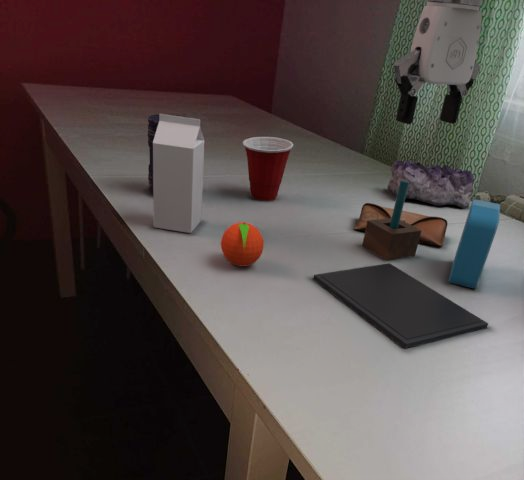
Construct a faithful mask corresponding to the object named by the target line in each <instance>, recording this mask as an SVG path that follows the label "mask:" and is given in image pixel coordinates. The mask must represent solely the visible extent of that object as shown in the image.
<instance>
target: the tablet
mask: <svg viewBox="0 0 524 480" xmlns="http://www.w3.org/2000/svg"><path fill="white" fill-rule="evenodd" d="M313 280H314V281H315V282H317V284H319V285H321V286H322V287H323V288H324V289H326V290H327V291H328V292H329V293H331V294H332V295H333V296H335V297H336V298H337V299H339V300H340V301H342V302H343V303H344V304H346V305H347V306H348V307H350V308H351V309H352V310H353V311H355V312H356V313H357V314H358V315H360V316H361V317H363V318H364V319H365V320H367V321H368V322H369V323H371V324H372V325H373V326H374V327H375V328H377V329H378V330H380V331H381V332H383V333H384V334H385V335H386V336H388V337H389V338H391V339H392V341H394V342H395V343H397V344H398V345H400V346H401V347H402V348H404V349H408V348H412V347H413V348H414V347H417V346H420V345H424V344H425V345H426V344H429V343H433V342H437V341H440V340H445V339H448V338H454V337H457V336H460V335H464V334H468V333H469V334H470V333H472V332H476V331H480V330H484V329H487V328H488V326H489V323H488V321H485V320H484V319H482V318H480V317H479V316H477V315H475V313H472V312H470V311H469V310H467V309H465V308H464V307H462V306H460V305H459V304H457V303H455V302H454V301H453V300H451V299H449V298H448V297H446V296H444V295H443V294H441V293H440V292H438V291H437V290H434V289H433V288H431V287H429V286H427V285H426V284H425V283H423V282H421V281H420V280H418V279H416V278H415V277H413V276H411V275H409V274H408V273H407V272H405V271H404V270H402V269H400V268H398V267H397V266H395V265H394V264H392V263H389V262H388V263H382V264H376V265H369V266H363V267H356V268H350V269H349V268H348V269H343V270H336V271H329V272H323V273H316V274H313Z"/></svg>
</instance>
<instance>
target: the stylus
mask: <svg viewBox="0 0 524 480" xmlns="http://www.w3.org/2000/svg"><path fill="white" fill-rule="evenodd" d="M408 185H409V181H407V180H401V181H400V185H399V189H398V194H397V196H396V198H395V202H394V207H393V209H394V211H393V215H392V219H391V223H390V228H392V229H398V226H399V222H400V218H401V214H402V211H404V205H405V201H406V198H405V197H406V193H407V189H408Z"/></svg>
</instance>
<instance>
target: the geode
mask: <svg viewBox="0 0 524 480" xmlns="http://www.w3.org/2000/svg"><path fill="white" fill-rule="evenodd" d="M390 171H391V177H390V178H389V181H388V184H387V186H386V187H387V189H388V190H389V191H390V192H392V193H393V194H394V196H395V197H397V194H398V189H399V185H400V181H401V180H407V181H409V185H408V189H407V193H406V197H405V199H411V200H417V201H420V202H422V203H426V204H427V203H428V204H430V205H432V206H437V207H441V206H446V205H447V206H448V205H451V206H457V207H458V208H461V209H463V210H464V209H468V208H469V206H470V203H471V195H472V194H473V193H474V183H475V177H474V174H473V173H472V171H471V170H468V169H465V170H461V169H459V168H458V167H456V168H455V169H454V168H452V167H451V166H449V165H447V164H444V165H443V166H442V167H441V164H436V165H434V166H425V165H423V164H422V163H421V162H420V161H418V162H416V163H415V162H414V161H411V160H406V161H405V162H404V161H401V160H397V161H393V163H392V164H391V166H390Z"/></svg>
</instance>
